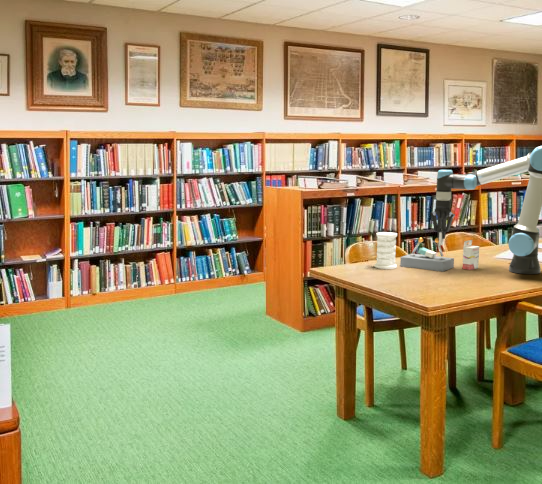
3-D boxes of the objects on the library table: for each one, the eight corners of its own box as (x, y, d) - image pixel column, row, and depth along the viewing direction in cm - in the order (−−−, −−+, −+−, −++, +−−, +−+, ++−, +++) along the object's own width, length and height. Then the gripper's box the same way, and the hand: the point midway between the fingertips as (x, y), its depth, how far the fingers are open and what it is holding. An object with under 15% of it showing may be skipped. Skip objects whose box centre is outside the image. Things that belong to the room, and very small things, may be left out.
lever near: (445, 255, 337) (439, 237, 338) (443, 256, 335) (437, 237, 336) (441, 256, 339) (435, 238, 339) (439, 257, 337) (433, 239, 337)
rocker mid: (435, 256, 342) (436, 252, 341) (431, 258, 338) (432, 254, 337) (422, 251, 346) (423, 247, 345) (418, 252, 342) (419, 248, 342)
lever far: (415, 254, 347) (424, 239, 343) (413, 254, 345) (422, 239, 341) (411, 251, 348) (421, 236, 344) (409, 252, 346) (419, 236, 342)
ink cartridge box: (470, 270, 334) (472, 242, 332) (462, 269, 337) (463, 241, 335) (478, 268, 340) (480, 240, 338) (470, 266, 343) (471, 239, 341)
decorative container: (401, 267, 340) (402, 234, 337) (384, 269, 334) (385, 235, 332) (386, 264, 350) (387, 231, 347) (370, 266, 344) (371, 233, 341)
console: (453, 267, 341) (454, 256, 340) (443, 271, 330) (443, 260, 329) (411, 262, 356) (412, 251, 355) (400, 266, 345) (400, 255, 344)
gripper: (458, 200, 332) (455, 245, 335) (434, 198, 339) (432, 242, 343) (452, 201, 326) (449, 247, 330) (428, 199, 334) (426, 244, 337)
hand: (440, 244), depth 336 cm, fingers closed
